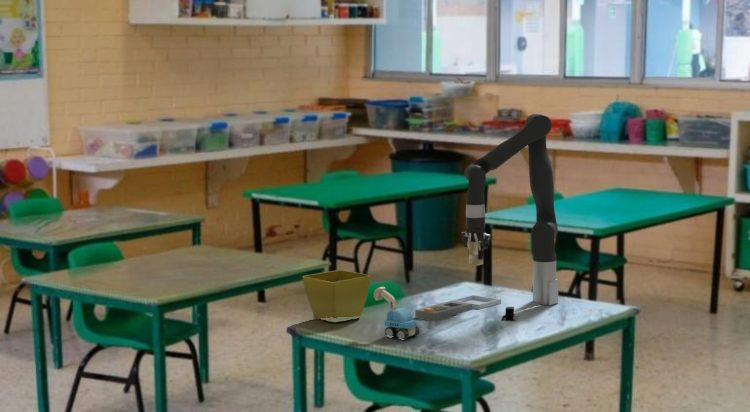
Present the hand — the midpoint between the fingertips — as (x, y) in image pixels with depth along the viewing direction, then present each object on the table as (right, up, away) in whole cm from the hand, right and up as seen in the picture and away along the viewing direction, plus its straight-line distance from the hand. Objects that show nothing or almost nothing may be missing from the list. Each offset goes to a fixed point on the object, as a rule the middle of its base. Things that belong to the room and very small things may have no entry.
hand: (476, 258), depth 494 cm
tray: (0, -19, +3) cm, 19 cm away
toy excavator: (-32, -26, -46) cm, 62 cm away
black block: (+11, -22, -20) cm, 32 cm away
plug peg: (0, -2, 0) cm, 2 cm away
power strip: (-13, -21, -12) cm, 28 cm away
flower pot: (-54, -22, -16) cm, 61 cm away
